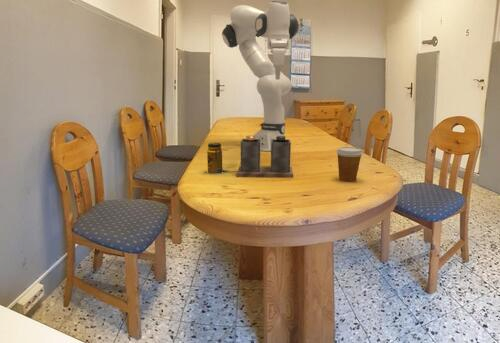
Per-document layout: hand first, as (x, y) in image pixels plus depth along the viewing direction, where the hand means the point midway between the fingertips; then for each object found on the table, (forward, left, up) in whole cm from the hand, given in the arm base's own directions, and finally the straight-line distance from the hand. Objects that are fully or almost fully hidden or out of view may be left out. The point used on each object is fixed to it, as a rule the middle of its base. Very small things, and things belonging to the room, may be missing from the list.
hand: (277, 79), depth 153 cm
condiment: (-16, -21, -37) cm, 46 cm away
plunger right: (+7, -9, -34) cm, 36 cm away
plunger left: (-3, -15, -34) cm, 37 cm away
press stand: (+2, -12, -37) cm, 39 cm away
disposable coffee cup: (+33, -2, -37) cm, 50 cm away
